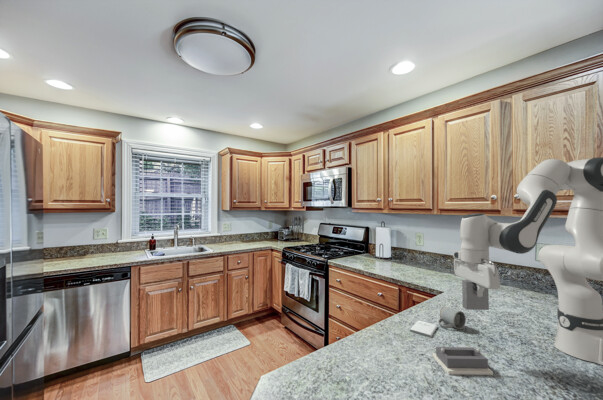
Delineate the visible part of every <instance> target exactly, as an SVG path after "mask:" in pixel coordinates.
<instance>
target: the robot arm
mask: <svg viewBox="0 0 603 400" xmlns="http://www.w3.org/2000/svg"><path fill="white" fill-rule="evenodd" d="M560 191H572V193H573V198H572V200H571V203H570V205H569V209H568V213H567V217H566V221H565V225H564V227H565V228H564V229H565V230H566V231H567V232H568V233H569V234H570V235H572V236H573V238H574V242H575V244H574V245H567V244H549V245H544V246H543V247H541V248H540V250H539V252H538V260H539V262H540V263H541V265H542V266H543V267H545V268H546V269H547V271H548V272H549V273H550V275H551V277H552V279H553V281H554V283H555V286H556V290H557V299H558V308H557V311H556V316H557V319H558V321H557V326H556V336H555V337H554V347H555V348H556V349H557V350H559V351H560V352H562V353H564V354H567V355H568V356H571V357H574V358H576V359H580V360H583V361H586V362H591V363H595V364H599V365H601V366H603V299H602V296H601V294H600V292H598V291H597V290H596V289H595V288H593V287H592V286H591V284H589V282H588V280H587V279H589V280H593V281H601V282H603V157H602V156H600V157H592V158H587V159H586V158H585V159H577V160H572V161H568V162H566V161H564V160H562V159H559V158H549V159H544V160H543V161H541V162H540V163H538V164H537V165H536V166H535V167H533V168H532V169H531V170H530V171H529V172H528V173H527V174H526V175H525V176H524V177H523V179H522V180H521V181H520V182H519V183H518V186H517V188H516V194H517V196H518V198H519V199H520V200H521V201H522V202H523V203H524V204H526V205H528V208H527V209H526V211H525V213H524V214H523V216H521V218H520V220H518V221H515V222H511V223H510V222H499V221H497V220H494V219H492V218H490V217H489V216H487V214H485V213H481V212H479V213H478V212H477V213H476V212H475V213H468V214H465V215H464V216H462V218H461V221H460V226H459V227H460V228H459V231H460V234H459V238H460V239H461V244H460V250H457V251H454V252H452V256H453V271H454V275H456V276H457V277H459V278H461V279H463V280H469V281H472V282H473V283H476V284H477V287H478V288H477V291H475V295H476V296H478V297H482V296H483V291H484V289H485V288H488V290H499V289H500V287H501V280H500V279H501V278H500V274H499V270H498V268H497V265H496V264H495V263H494V261H492V260H490V248H494V249H499V250H504V251H509V252H512V253H515V254H521V255H522V254H527V253H529V252H531V251H532V250H533V249H534V248H535V247H536V245H537V243H538V240H539V236H540V235H541V234H540V233H541V231H542V230H543V228H544V226H545V225H546V224H547V222H548V220H549V218H550V216H551V215H552V214H553V211H554V210H555V207H556V206H557V202H558V199H557V194H558V193H559V192H560Z"/></svg>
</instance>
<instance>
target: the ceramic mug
mask: <svg viewBox="0 0 603 400" xmlns="http://www.w3.org/2000/svg"><path fill="white" fill-rule="evenodd" d="M466 321H467V318H466V315H465V313H464V312H463V311H462V310H457V309H454V308H451V307H447V306H445V307H442V308H441V309H440V312H439V319H438V325H439V327H440V328H442V329H445V330H446V329H450V328H452V327H453V328H455V329H457V330H461V329H464V327H465V325H466ZM442 322H443V323H444V325H443V324H441V323H442Z"/></svg>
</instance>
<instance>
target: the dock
mask: <svg viewBox="0 0 603 400" xmlns="http://www.w3.org/2000/svg"><path fill="white" fill-rule="evenodd" d="M432 357H433V358H434V360H435V361H436V362H437V363H438V364H439V365H440V366H441V367H442V368H443V370H444V371H445V372H446V373H447V374H448V375H472V376H474V375H477V376H478V375H479V376H481V375H482V376H483V375H484V376H494V372H493V370H492V369H490V368H489V359H488V358H487V357H486V356H484V355H483V354H482V353H481V349H480V348H476V349H475V348H474V347H472V346H471V347H463V346H460V347H458V346H455V347H454V346H453V347H452V346H435V353H434V352H432Z"/></svg>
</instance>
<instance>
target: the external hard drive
mask: <svg viewBox="0 0 603 400" xmlns="http://www.w3.org/2000/svg"><path fill="white" fill-rule="evenodd" d="M437 329H438V325H437V324H435V323H431V322H427V321H423V320H417V321H416V322H415V323H414V324H413V325H412V327H411V328H410V329H409V332H410V333H413V334H417V335H420V336H423V337H427V338H432V337H433V335H434V334H435V332H436V330H437Z"/></svg>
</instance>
